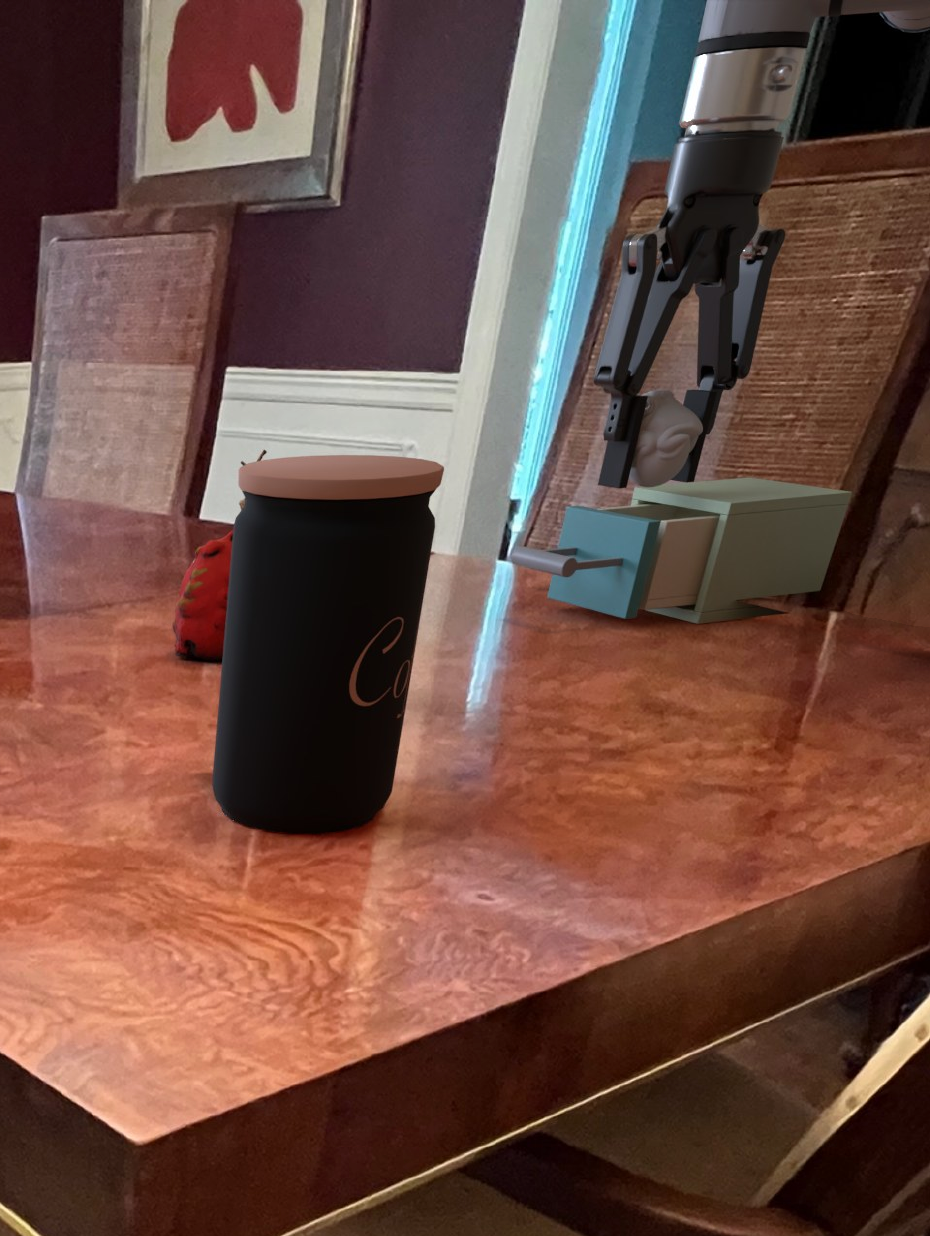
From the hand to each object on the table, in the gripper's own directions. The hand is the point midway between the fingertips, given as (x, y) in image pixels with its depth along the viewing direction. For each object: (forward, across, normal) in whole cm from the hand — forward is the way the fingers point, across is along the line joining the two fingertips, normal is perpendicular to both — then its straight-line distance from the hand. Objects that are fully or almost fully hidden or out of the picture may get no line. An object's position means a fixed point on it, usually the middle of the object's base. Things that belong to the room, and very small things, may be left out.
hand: (645, 482), depth 117 cm
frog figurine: (+1, 0, 0) cm, 1 cm away
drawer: (+9, -1, 0) cm, 10 cm away
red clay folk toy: (+11, -39, +2) cm, 40 cm away
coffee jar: (+11, -53, -37) cm, 66 cm away
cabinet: (+10, +10, 0) cm, 15 cm away
